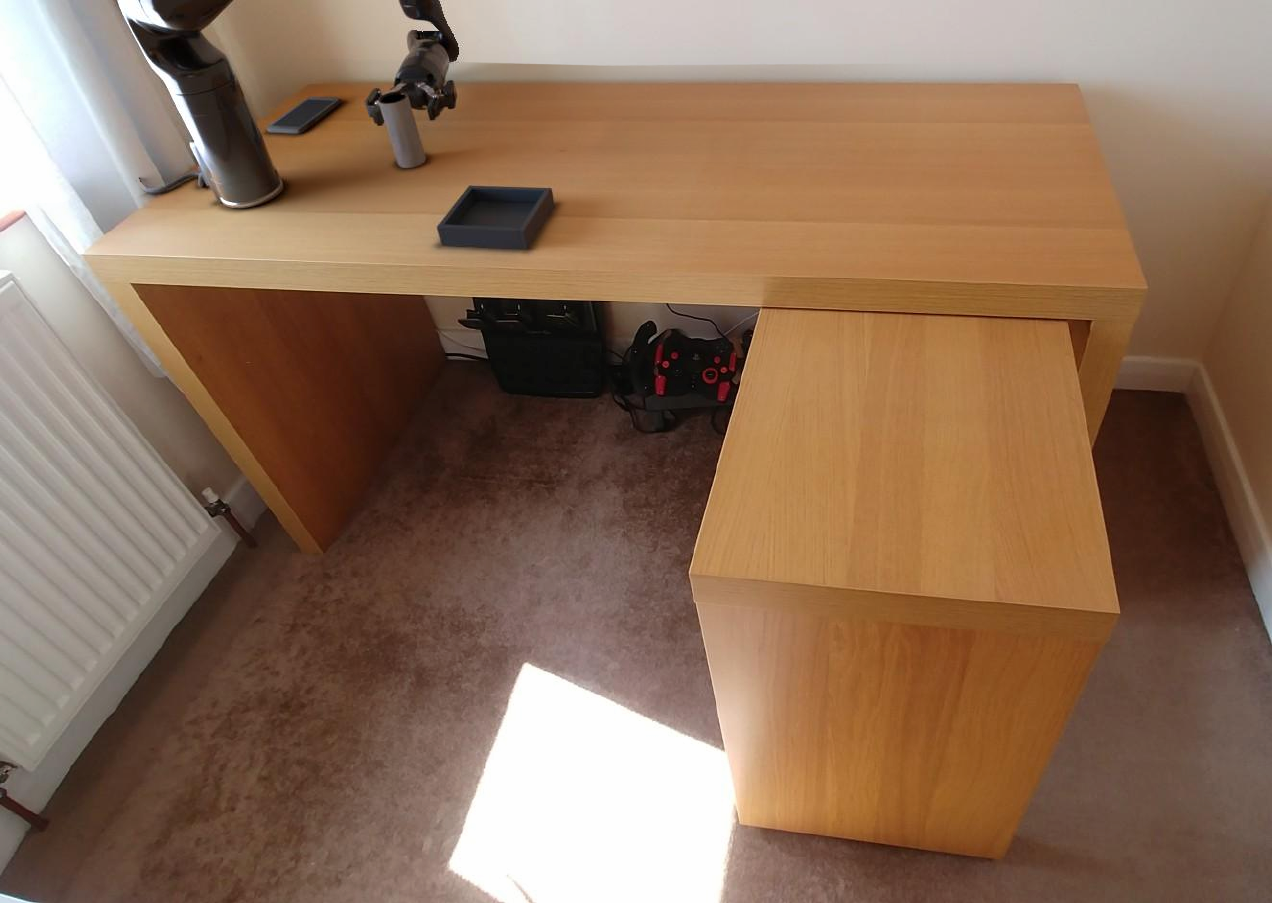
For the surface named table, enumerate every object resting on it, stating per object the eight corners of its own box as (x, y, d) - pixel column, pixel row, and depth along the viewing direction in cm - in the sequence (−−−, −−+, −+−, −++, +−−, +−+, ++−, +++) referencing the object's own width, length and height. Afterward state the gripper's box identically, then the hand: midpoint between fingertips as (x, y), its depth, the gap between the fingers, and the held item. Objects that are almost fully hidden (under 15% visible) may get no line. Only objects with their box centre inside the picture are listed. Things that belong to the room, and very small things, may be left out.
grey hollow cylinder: (431, 160, 132) (413, 95, 125) (407, 171, 130) (386, 105, 123) (417, 152, 135) (398, 88, 128) (393, 163, 133) (372, 98, 126)
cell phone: (343, 101, 154) (342, 97, 153) (300, 134, 144) (298, 130, 144) (310, 100, 156) (309, 96, 155) (266, 132, 147) (264, 128, 146)
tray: (441, 245, 113) (436, 227, 111) (473, 203, 121) (469, 185, 119) (527, 249, 110) (523, 230, 108) (554, 206, 118) (551, 187, 116)
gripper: (373, 60, 140) (352, 98, 128) (456, 50, 139) (442, 88, 127) (387, 104, 145) (367, 144, 133) (467, 96, 144) (454, 136, 133)
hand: (404, 117), depth 130 cm, fingers open, 8 cm apart
